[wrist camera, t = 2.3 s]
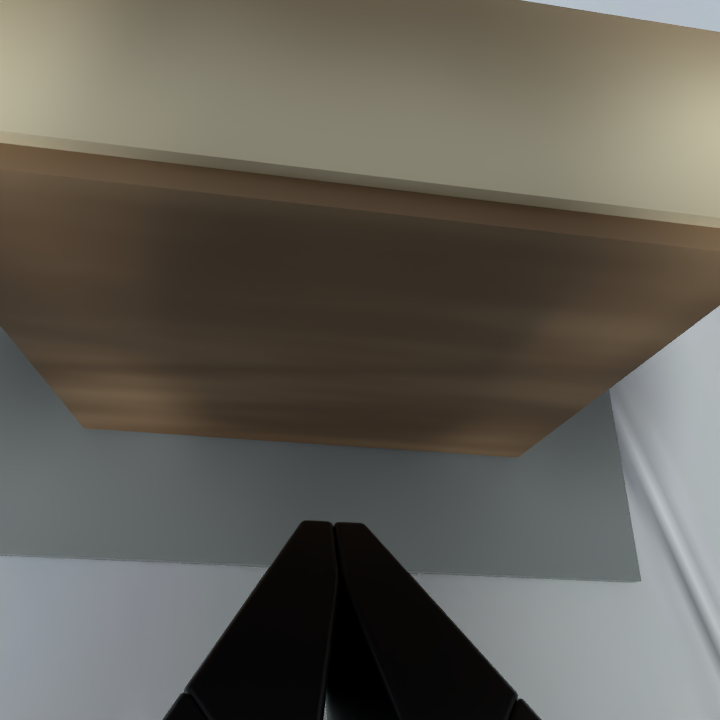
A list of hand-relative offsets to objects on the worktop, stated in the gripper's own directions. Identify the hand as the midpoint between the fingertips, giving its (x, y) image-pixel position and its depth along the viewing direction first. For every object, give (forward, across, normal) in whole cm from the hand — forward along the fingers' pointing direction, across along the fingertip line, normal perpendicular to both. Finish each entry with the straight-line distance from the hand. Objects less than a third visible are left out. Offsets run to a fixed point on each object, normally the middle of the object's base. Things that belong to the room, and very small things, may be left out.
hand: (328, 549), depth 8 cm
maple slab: (+10, 0, +1) cm, 10 cm away
